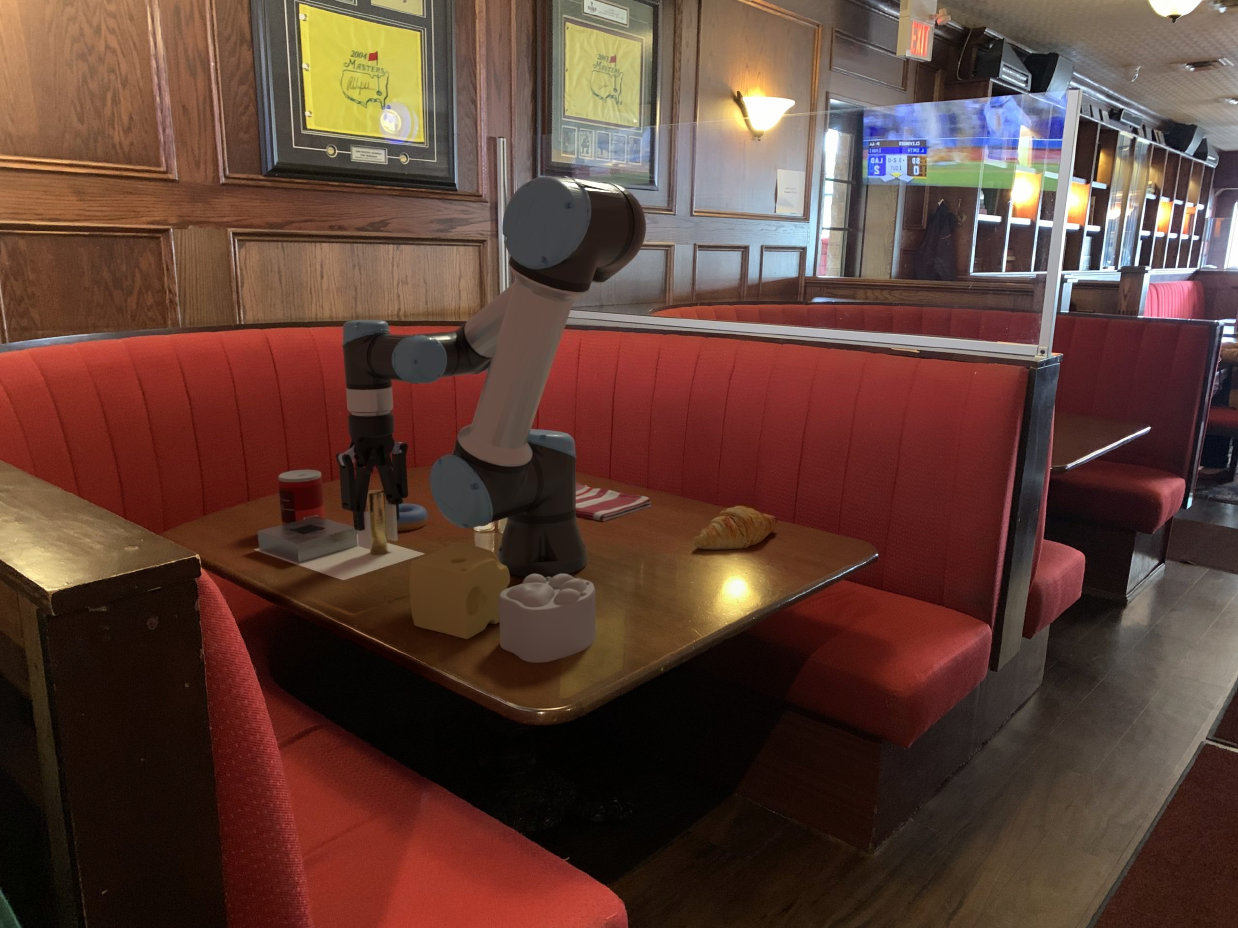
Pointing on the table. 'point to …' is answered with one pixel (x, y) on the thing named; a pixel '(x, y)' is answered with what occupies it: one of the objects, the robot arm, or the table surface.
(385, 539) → the pin
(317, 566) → the mat
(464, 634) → the cheese
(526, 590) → the lumpy-topped squat cylinder
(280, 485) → the canned food
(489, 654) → the table surface
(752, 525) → the croissant
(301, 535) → the square hole block
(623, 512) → the dish towel
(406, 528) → the doughnut
